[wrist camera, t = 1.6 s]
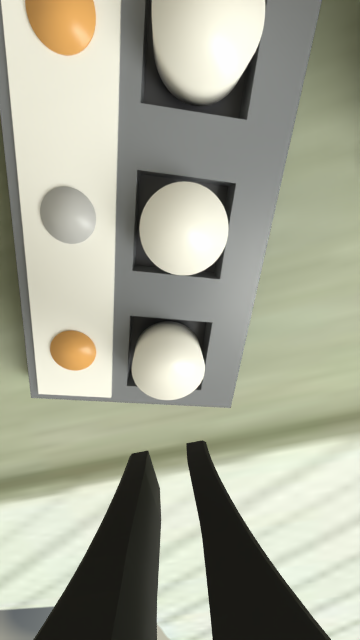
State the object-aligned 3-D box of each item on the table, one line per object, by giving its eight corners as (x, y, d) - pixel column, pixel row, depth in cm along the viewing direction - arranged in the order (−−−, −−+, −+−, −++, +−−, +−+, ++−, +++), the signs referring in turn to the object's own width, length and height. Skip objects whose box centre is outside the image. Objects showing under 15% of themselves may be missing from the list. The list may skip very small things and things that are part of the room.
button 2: (225, 191, 15) (236, 187, 13) (212, 270, 17) (220, 279, 14) (145, 180, 15) (142, 175, 12) (140, 262, 16) (136, 271, 14)
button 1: (256, -7, 12) (277, -55, 10) (237, 112, 14) (251, 93, 11) (157, -27, 12) (156, -83, 9) (150, 98, 13) (147, 76, 11)
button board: (311, -24, 13) (341, -71, 11) (224, 391, 22) (231, 410, 20) (2, -92, 12) (-34, -160, 9) (43, 380, 20) (29, 400, 18)
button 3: (204, 324, 18) (210, 340, 16) (195, 380, 20) (199, 402, 17) (137, 318, 17) (133, 334, 15) (133, 376, 19) (130, 398, 17)
